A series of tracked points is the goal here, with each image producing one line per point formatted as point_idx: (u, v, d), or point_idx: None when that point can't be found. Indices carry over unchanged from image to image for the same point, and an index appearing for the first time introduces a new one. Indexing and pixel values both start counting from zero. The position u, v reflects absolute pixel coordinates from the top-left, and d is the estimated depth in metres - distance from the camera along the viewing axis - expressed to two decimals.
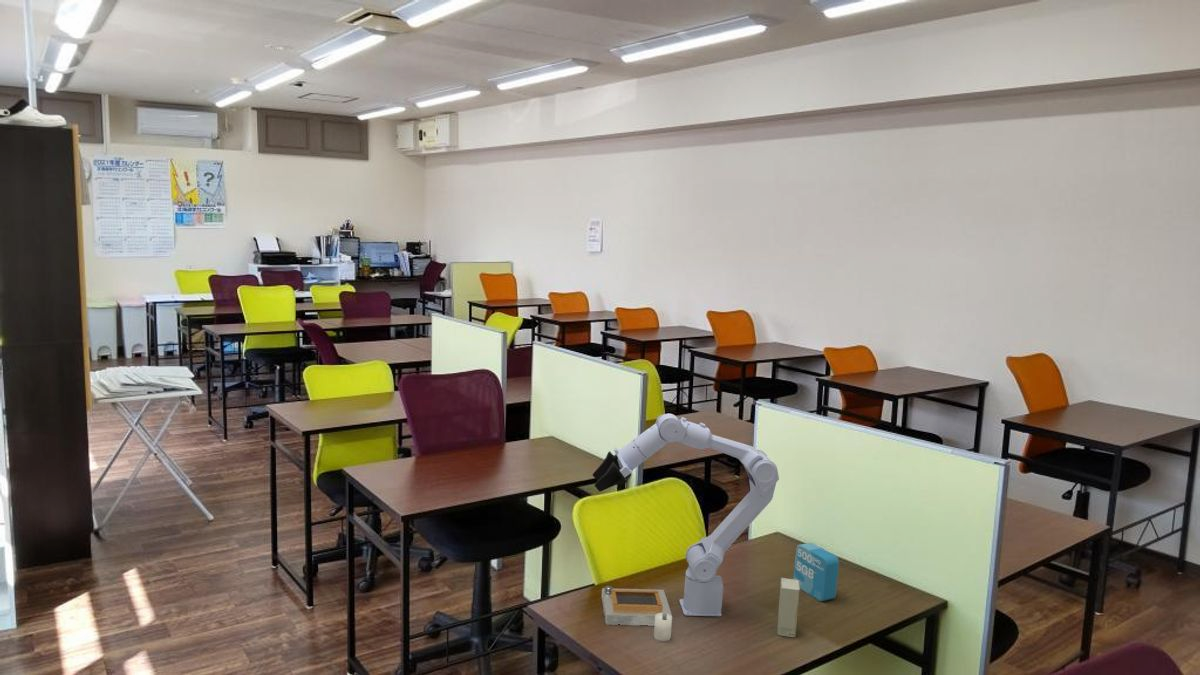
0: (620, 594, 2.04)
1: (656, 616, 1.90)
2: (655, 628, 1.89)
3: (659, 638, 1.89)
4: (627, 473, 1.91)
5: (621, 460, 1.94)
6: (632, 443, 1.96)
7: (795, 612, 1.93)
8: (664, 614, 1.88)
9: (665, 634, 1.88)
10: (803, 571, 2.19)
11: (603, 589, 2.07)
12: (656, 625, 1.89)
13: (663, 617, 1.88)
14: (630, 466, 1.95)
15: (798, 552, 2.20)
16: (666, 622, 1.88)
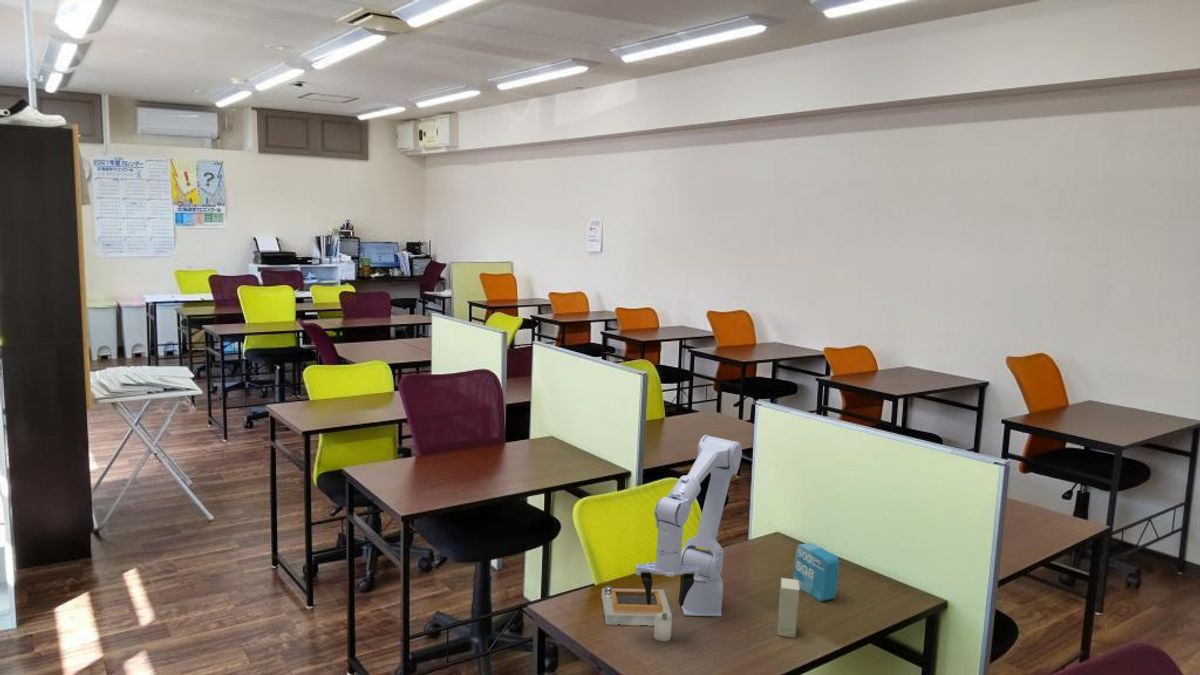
0: (620, 594, 2.04)
1: (656, 616, 1.90)
2: (655, 628, 1.89)
3: (659, 638, 1.89)
4: None
5: (685, 571, 1.86)
6: (674, 555, 1.85)
7: (795, 612, 1.93)
8: (664, 614, 1.88)
9: (665, 634, 1.88)
10: (803, 571, 2.19)
11: (603, 589, 2.07)
12: (656, 625, 1.89)
13: (663, 617, 1.88)
14: None
15: (798, 552, 2.20)
16: (666, 622, 1.88)
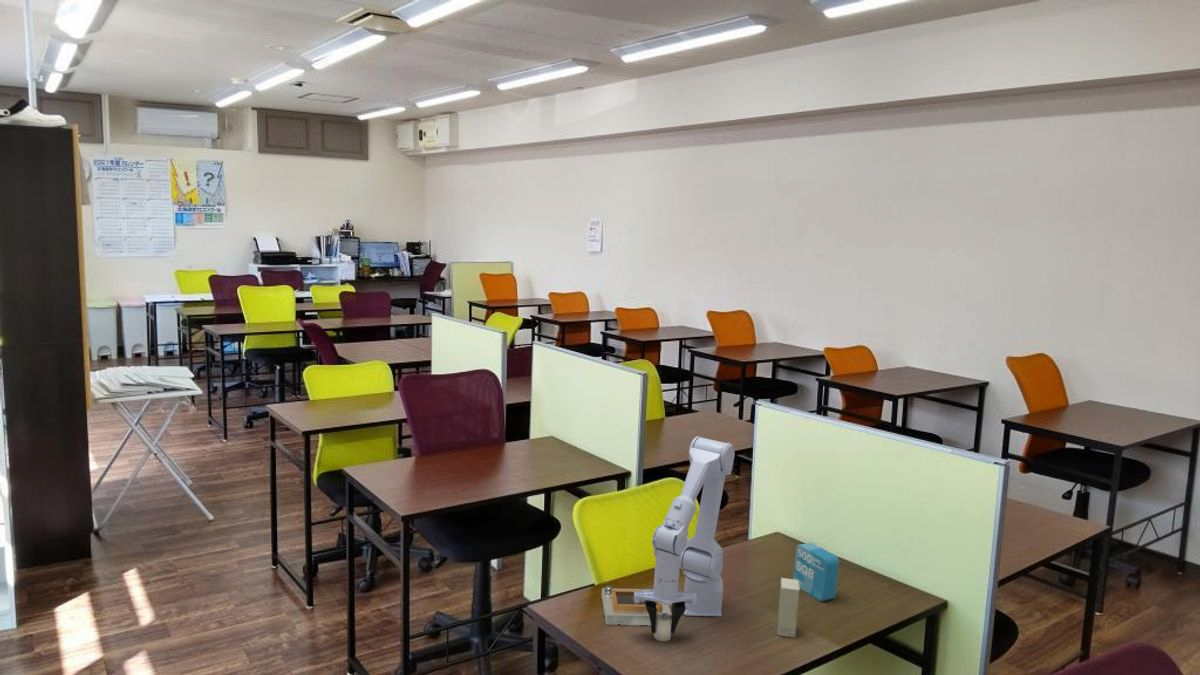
0: (620, 594, 2.04)
1: (656, 616, 1.90)
2: (655, 628, 1.89)
3: (659, 638, 1.89)
4: None
5: (682, 599, 1.87)
6: (672, 583, 1.86)
7: (795, 612, 1.93)
8: (664, 614, 1.88)
9: (665, 634, 1.88)
10: (803, 571, 2.19)
11: (603, 589, 2.07)
12: (656, 625, 1.89)
13: (663, 617, 1.88)
14: None
15: (798, 552, 2.20)
16: (666, 622, 1.88)
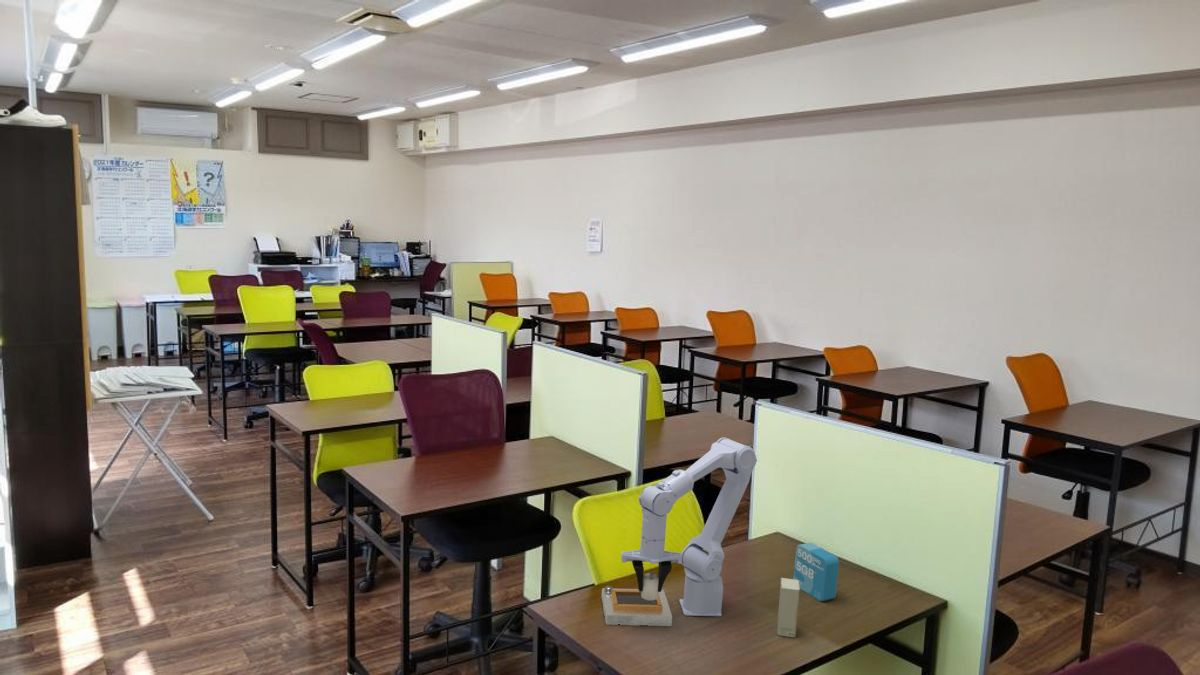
0: (620, 594, 2.04)
1: (643, 576, 1.95)
2: (643, 588, 1.94)
3: (647, 597, 1.94)
4: None
5: (669, 558, 1.93)
6: (658, 542, 1.91)
7: (795, 612, 1.93)
8: (651, 574, 1.93)
9: (653, 593, 1.93)
10: (803, 571, 2.19)
11: (603, 589, 2.07)
12: (644, 585, 1.94)
13: (650, 577, 1.93)
14: None
15: (798, 552, 2.20)
16: (653, 581, 1.93)
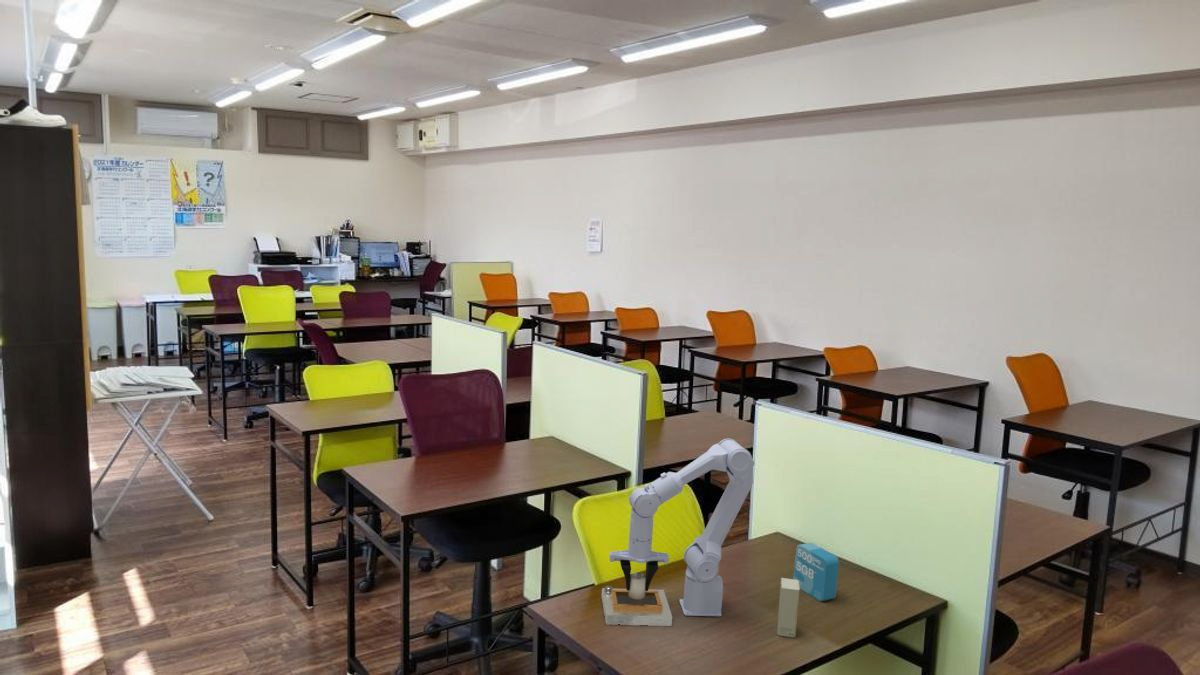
0: (620, 594, 2.04)
1: (631, 576, 2.00)
2: (630, 587, 1.99)
3: (634, 596, 1.99)
4: None
5: (655, 558, 1.98)
6: (645, 543, 1.96)
7: (795, 612, 1.93)
8: (639, 574, 1.99)
9: (640, 592, 1.99)
10: (803, 571, 2.19)
11: (603, 589, 2.07)
12: (631, 584, 1.99)
13: (638, 576, 1.99)
14: None
15: (798, 552, 2.20)
16: (641, 581, 1.98)
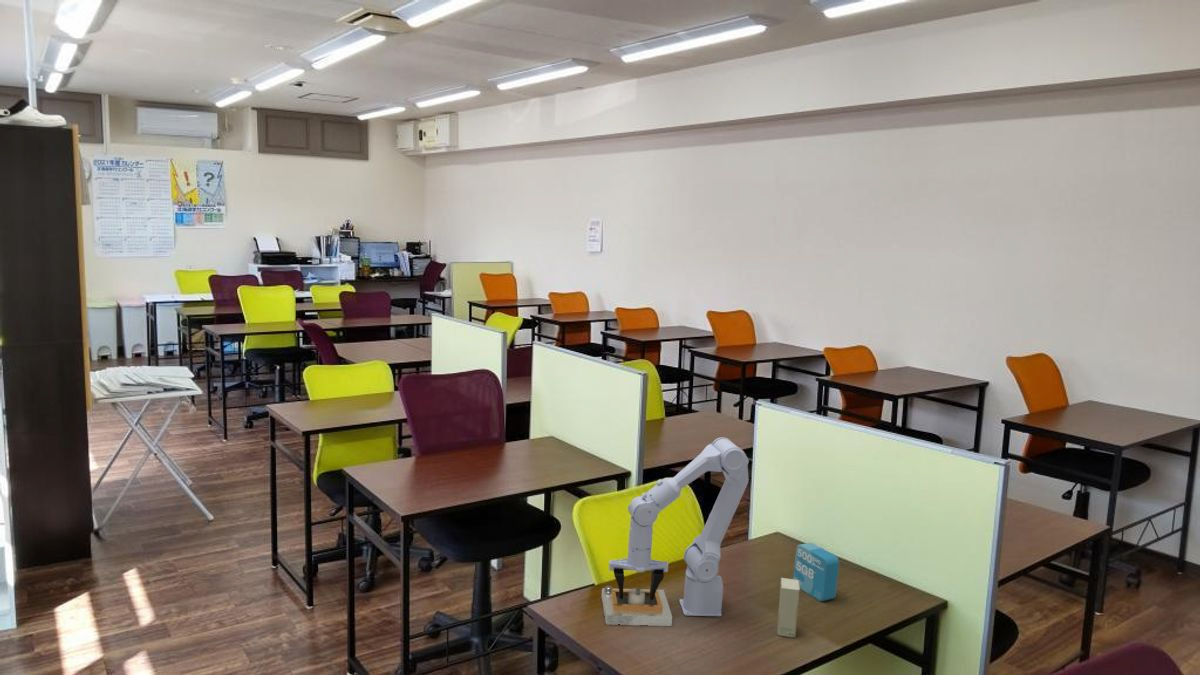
0: None
1: (630, 592, 2.01)
2: (629, 603, 2.00)
3: None
4: None
5: (655, 567, 1.98)
6: (645, 551, 1.97)
7: (795, 612, 1.93)
8: (637, 589, 2.00)
9: None
10: (803, 571, 2.19)
11: (603, 589, 2.07)
12: (630, 600, 2.00)
13: (637, 592, 1.99)
14: None
15: (798, 552, 2.20)
16: (640, 597, 1.99)
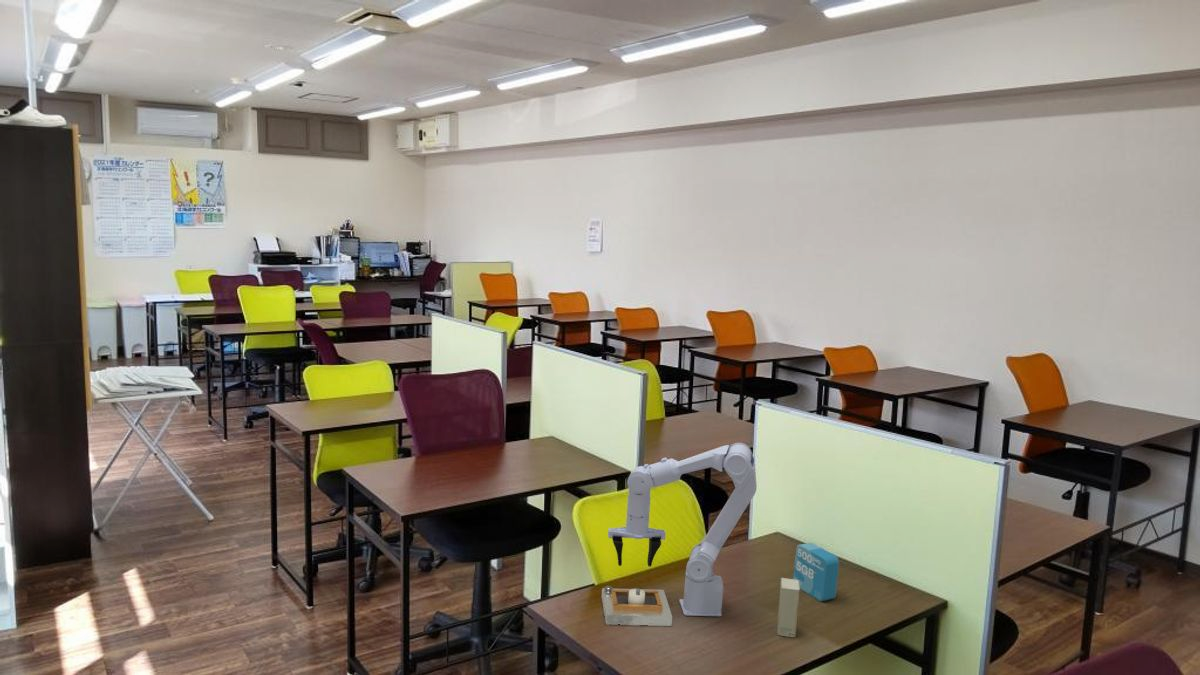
0: (620, 594, 2.04)
1: (630, 592, 2.01)
2: (629, 603, 2.00)
3: None
4: None
5: (652, 535, 2.05)
6: (643, 519, 2.03)
7: (795, 612, 1.93)
8: (637, 589, 2.00)
9: None
10: (803, 571, 2.19)
11: (603, 589, 2.07)
12: (630, 600, 2.00)
13: (637, 592, 1.99)
14: None
15: (798, 552, 2.20)
16: (640, 597, 1.99)
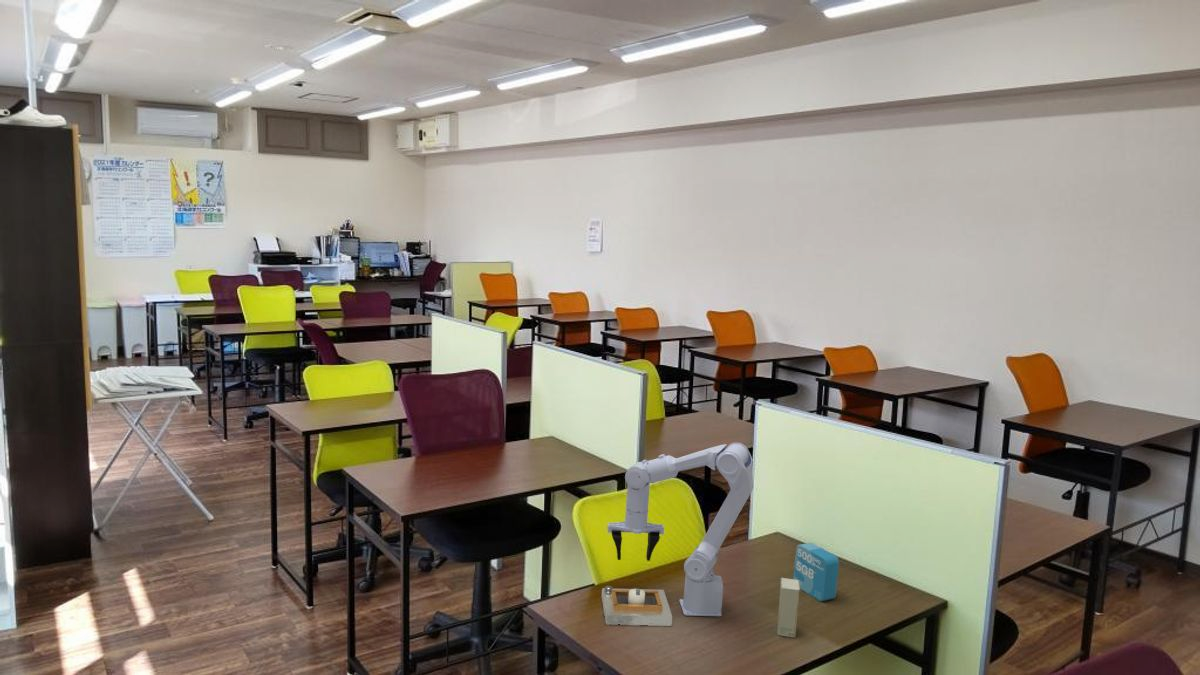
0: (620, 594, 2.04)
1: (630, 592, 2.01)
2: (629, 603, 2.00)
3: None
4: None
5: (651, 529, 2.07)
6: (641, 514, 2.06)
7: (795, 612, 1.93)
8: (637, 589, 2.00)
9: None
10: (803, 571, 2.19)
11: (603, 589, 2.07)
12: (630, 600, 2.00)
13: (637, 592, 1.99)
14: None
15: (798, 552, 2.20)
16: (640, 597, 1.99)
